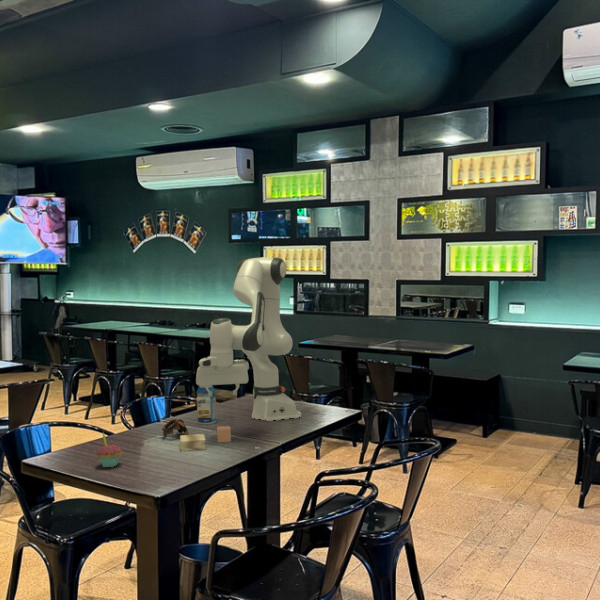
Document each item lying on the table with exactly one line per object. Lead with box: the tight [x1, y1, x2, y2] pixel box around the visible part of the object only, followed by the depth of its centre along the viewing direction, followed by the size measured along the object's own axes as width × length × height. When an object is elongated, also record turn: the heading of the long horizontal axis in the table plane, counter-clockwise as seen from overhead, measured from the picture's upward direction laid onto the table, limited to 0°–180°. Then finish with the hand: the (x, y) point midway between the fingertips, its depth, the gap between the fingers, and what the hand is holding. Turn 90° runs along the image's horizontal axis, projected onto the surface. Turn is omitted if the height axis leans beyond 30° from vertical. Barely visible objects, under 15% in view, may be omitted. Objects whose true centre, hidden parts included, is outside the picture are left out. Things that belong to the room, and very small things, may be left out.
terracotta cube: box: [216, 425, 232, 443], centre depth 245 cm, size 5×5×5 cm
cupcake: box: [96, 432, 124, 468], centre depth 215 cm, size 9×8×12 cm
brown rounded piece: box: [161, 418, 190, 438], centre depth 252 cm, size 12×10×8 cm
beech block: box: [179, 433, 207, 452], centre depth 236 cm, size 9×9×4 cm
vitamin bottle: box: [196, 385, 217, 425], centre depth 274 cm, size 8×8×20 cm
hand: (222, 395), depth 244 cm, fingers open, 8 cm apart
